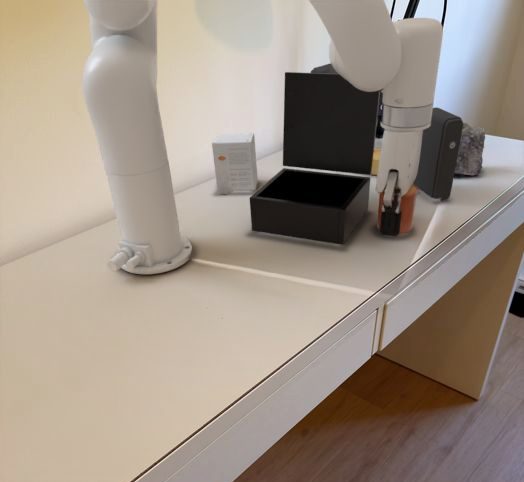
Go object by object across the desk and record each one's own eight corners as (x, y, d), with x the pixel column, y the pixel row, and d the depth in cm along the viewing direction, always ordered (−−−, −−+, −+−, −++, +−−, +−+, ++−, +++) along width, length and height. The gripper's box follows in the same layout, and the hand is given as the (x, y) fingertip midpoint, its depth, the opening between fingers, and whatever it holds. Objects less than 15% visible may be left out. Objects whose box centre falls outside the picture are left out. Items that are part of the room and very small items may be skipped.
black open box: (343, 249, 87) (344, 210, 83) (252, 235, 93) (249, 197, 89) (367, 213, 98) (370, 177, 93) (284, 202, 104) (283, 167, 99)
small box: (258, 183, 112) (255, 132, 106) (255, 194, 108) (252, 141, 101) (221, 184, 113) (216, 133, 107) (217, 194, 109) (211, 142, 102)
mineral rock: (408, 174, 112) (414, 124, 106) (430, 159, 118) (436, 111, 112) (467, 185, 105) (477, 133, 99) (487, 169, 112) (497, 119, 106)
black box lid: (380, 75, 85) (387, 74, 88) (284, 72, 91) (294, 70, 94) (370, 175, 93) (376, 170, 96) (282, 165, 99) (291, 161, 102)
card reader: (453, 200, 100) (468, 117, 91) (434, 204, 99) (447, 120, 90) (428, 184, 107) (439, 105, 98) (410, 187, 106) (420, 108, 97)
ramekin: (370, 236, 91) (373, 193, 86) (380, 220, 95) (383, 179, 91) (408, 241, 88) (414, 198, 84) (417, 225, 93) (422, 183, 88)
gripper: (395, 99, 87) (385, 202, 98) (366, 129, 75) (358, 243, 86) (441, 101, 85) (426, 207, 96) (419, 133, 73) (404, 250, 84)
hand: (394, 223), depth 91 cm, fingers open, 6 cm apart
